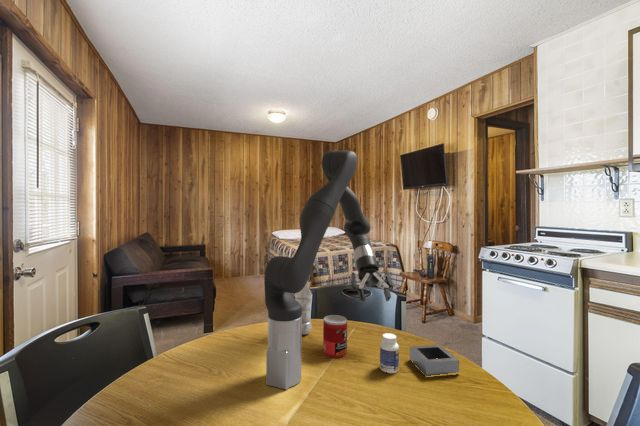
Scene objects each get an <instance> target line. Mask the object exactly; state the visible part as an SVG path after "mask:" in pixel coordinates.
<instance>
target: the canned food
mask: <svg viewBox="0 0 640 426" xmlns="http://www.w3.org/2000/svg"><path fill="white" fill-rule="evenodd" d="M322 323H323V325H322V326H323V328H322V331H323V332H322V333H323V345H322V347H323V349H322V350H323V353H324V354H325V356H327V357H330V358H334V359H335V358H336V359H339V358H343V357H344V356H346V354H347V352H348V319H347V318H346V316H344V315H339V314H329V315H326V316H324V317H323V322H322Z"/></svg>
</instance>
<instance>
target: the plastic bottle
mask: <svg viewBox="0 0 640 426" xmlns="http://www.w3.org/2000/svg"><path fill="white" fill-rule="evenodd" d="M309 285H310V284H309V280H308V281H307V283H306V285H305V287H304V288H303V289H302V290H301V291H300V292H298V293H294V299H295V300H296V301H298V302H299V303H300V304H301V306H302V336H304V335H308V334H310V332H311V331H312V321H311V304H312V298H313V297H312V296H313V293H312V291H311V290H310V288H309Z"/></svg>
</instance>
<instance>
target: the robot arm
mask: <svg viewBox="0 0 640 426" xmlns="http://www.w3.org/2000/svg"><path fill="white" fill-rule="evenodd" d="M321 167H322V171H323V174H324V176H325V178H326V179H327V183H326V184H324V185H323V186H321V187H320V188H319V189H318V190H316V191H314V193H312V194H311V195H310V196H309V198H307V201H306V202H305V205H304V207H303V208H302V211H301V213H300V215H299V216H300V217H299V228H300V242H299V244H298V247H297V249H296V251H295V253H294V255H293V256H292V257H290V256H282V255H277V256H274V257H272V258H270V259H269V260H268V262H267V264H266V267H265V270H264V276H263V277H264V279H263V281H264V283H263V284H264V302H265V308H266V309H267V316H268V317H267V348H266V361H265V362H266V364H265V365H266V372H265V373H266V379H265V383H266V385H267V386H271V387H274V388H278V389H281V390H282V389H283V390H288V389H289V388H290V387H294V386H297V384H299V383H300V382H301V380H302V356H303V355H302V350H303V349H302V348H303V346H302V345H303V343H302V340H303V339H302V336H303V335H302V306H301V304H300V303H299V302H298V301H296V300H295V296H294V295H293V294H295V293H298V292H300V291H301V290H302V289H303V288H304V287H305V285H306V283H307V281H308V282H309V279H310V276H311V273H312V270H313V267H314V264H315V260H316V258H317V255H318V251H319V249H320V247H321V244H322V241H323V239H324V237H325V234H326V233H327V230H328V228H329V226H330V224H331V222H332V220H333V217H334V215H335V212H336V210H337V208H338V205H339V204H340V207H341V211H342V214H343V216H344V219H345V220H346V221H345V223H344V225H343V230H344V233H345V234H346V236H347V237H348V239H349V241H350V243H351V245H352V249H353V253H354V254H353V255H354V262H355V265H356V268H357V269H356V270H357V273H356V272H353V271H352V272H351V274H350V277H349V278H350V286H351V291H353V292H357V294H358V298H359V301H361V302H362V303H365V301H366V295H365V292H364V287H365V286H367V287H370V286H372V287H374V286H377V288H379V289H381V290H382V291H383V294H384V297H385V302H389V301H390V300H391V297H392V294H391V291H390V290H392V289H393V287H394V282H393V281H392V280H393V279H392V278H391V274H390V272H388V271H385V272H382V273H381V272H380V269H379V265H378V262H377V258H376V254H375V252H374V249H373V248H372V243H371V240H370V238H369V236H367V234H369V233H370V231H371V224H370V221H369V220H368V218H367V217H366V215H365V214H364V212H363V211H362V207H361V204H360V200H359V198H358V196H357V194H355V193H354V191H353V190H352V189H351V188H350V187H349V186H348V185H349V184H350V183H351V181H352V179H353V178H354V176H355V174H356V171H357V169H358V168H357V167H358V156H357V154H356V153H355V152H354V151H353V150H347V149H346V150H345V149H344V150H335V149H334V150H327V151H326V152H324V154H323V156H322V158H321ZM357 279H358V280H359V281H360V284H359V285H357Z"/></svg>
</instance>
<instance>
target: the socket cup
mask: <svg viewBox="0 0 640 426" xmlns="http://www.w3.org/2000/svg"><path fill="white" fill-rule="evenodd" d="M436 358H438V359H436ZM410 359H411V360H412V361H413V363H414V364H415V365H416V366H417V367H418V368H419V369H420V370H421V371H422V372H423V373H424V374H425V375H426V376H431V375H440V374H448V373H456V372H459V373H460V359H458V358H457V357H456V356H455V355H453V354H452V353H451V352H449V350H447V349H446V348H445V347H443V346H442V345H440V344H430V345H429V344H428V345H416V346H409V360H410ZM413 363H412V364H413ZM414 364H413V365H414ZM415 365H414V366H415ZM416 366H415V367H416ZM417 367H416V368H417Z"/></svg>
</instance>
